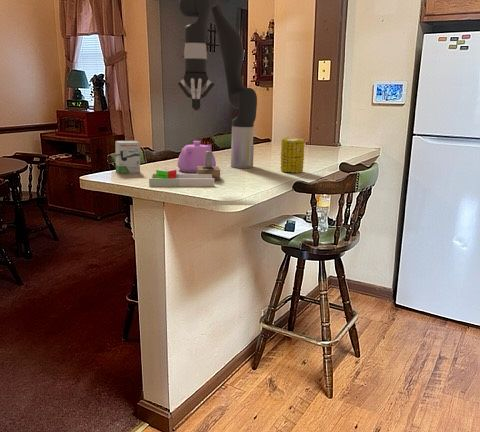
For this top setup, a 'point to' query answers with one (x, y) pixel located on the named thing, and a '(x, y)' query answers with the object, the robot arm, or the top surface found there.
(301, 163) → the food
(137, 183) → the top surface
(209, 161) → the pin gauge
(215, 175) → the bore block
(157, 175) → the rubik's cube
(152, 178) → the tray
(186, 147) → the purple bag
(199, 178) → the guide rails
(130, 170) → the ink box
